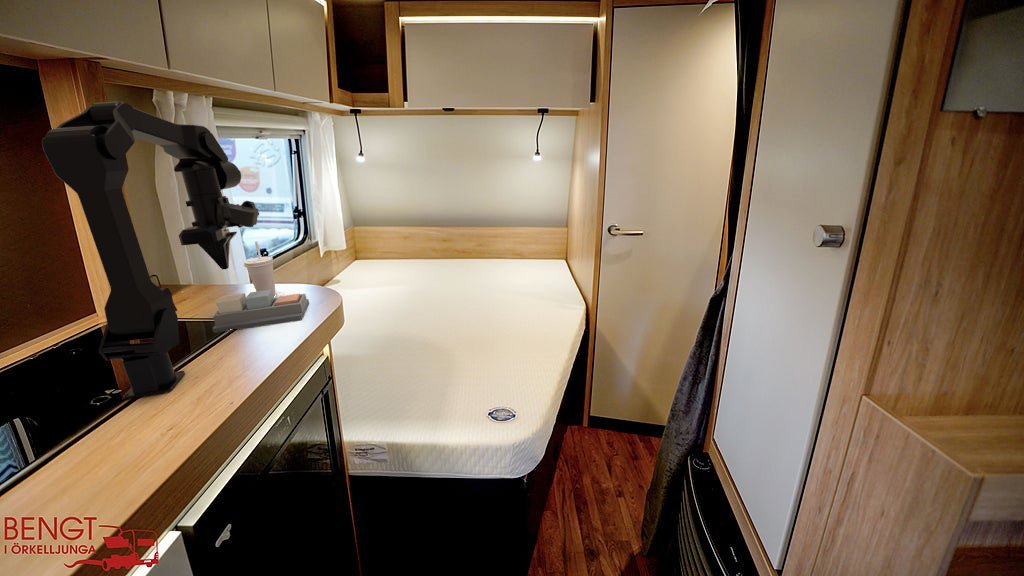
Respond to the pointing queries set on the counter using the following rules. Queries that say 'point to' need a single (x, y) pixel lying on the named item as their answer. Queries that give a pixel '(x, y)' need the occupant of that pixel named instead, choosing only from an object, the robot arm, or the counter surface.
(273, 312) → the keypad
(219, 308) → the key ivory
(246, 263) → the smoothie
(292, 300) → the key terracotta
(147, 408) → the counter surface
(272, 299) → the key slate
